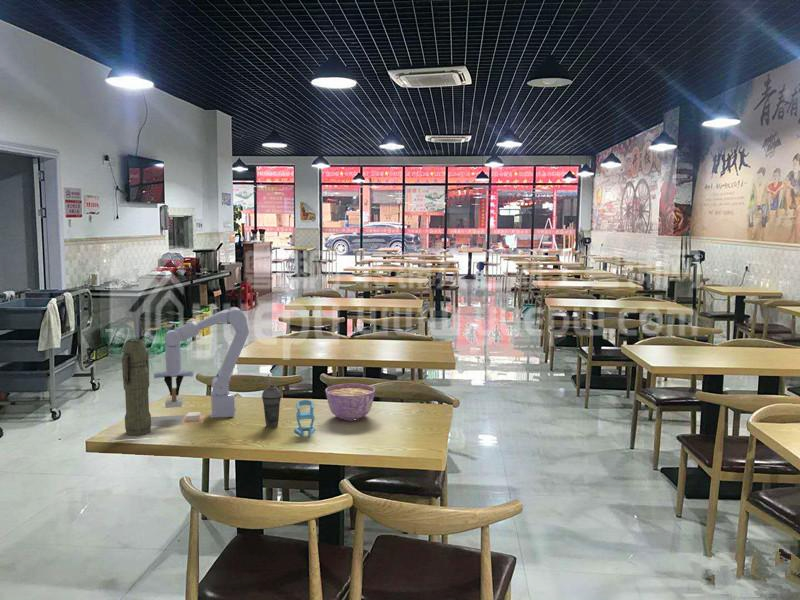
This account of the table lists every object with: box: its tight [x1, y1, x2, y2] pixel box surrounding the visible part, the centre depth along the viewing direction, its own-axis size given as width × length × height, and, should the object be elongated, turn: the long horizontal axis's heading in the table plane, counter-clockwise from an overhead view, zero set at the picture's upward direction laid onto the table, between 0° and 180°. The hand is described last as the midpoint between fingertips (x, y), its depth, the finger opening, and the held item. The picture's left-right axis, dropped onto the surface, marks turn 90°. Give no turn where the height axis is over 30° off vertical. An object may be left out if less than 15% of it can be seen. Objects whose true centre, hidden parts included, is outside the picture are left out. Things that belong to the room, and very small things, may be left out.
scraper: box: [164, 387, 185, 409], centre depth 257 cm, size 6×8×6 cm
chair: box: [294, 399, 316, 438], centre depth 242 cm, size 8×8×12 cm
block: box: [186, 411, 202, 421], centre depth 257 cm, size 5×5×2 cm
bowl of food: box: [324, 383, 376, 421], centre depth 261 cm, size 20×20×12 cm
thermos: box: [121, 338, 152, 437], centre depth 238 cm, size 9×12×35 cm
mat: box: [151, 413, 206, 427], centre depth 255 cm, size 23×12×1 cm, turn 102°
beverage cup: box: [261, 374, 282, 429], centre depth 249 cm, size 7×7×20 cm
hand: (174, 394), depth 257 cm, fingers closed on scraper
